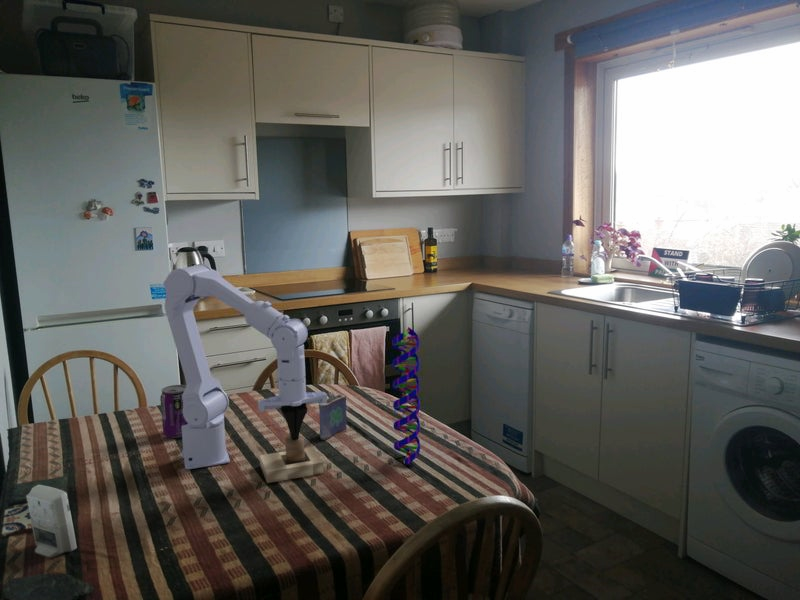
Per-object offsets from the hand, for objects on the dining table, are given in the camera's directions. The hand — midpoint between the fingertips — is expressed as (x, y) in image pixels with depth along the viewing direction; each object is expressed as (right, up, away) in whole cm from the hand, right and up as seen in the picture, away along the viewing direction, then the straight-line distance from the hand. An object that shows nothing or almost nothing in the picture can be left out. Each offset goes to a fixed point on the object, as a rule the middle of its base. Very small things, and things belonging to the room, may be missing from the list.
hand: (294, 437), depth 138 cm
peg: (0, -7, +1) cm, 7 cm away
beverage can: (-33, -4, +22) cm, 40 cm away
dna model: (+24, -6, +5) cm, 26 cm away
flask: (+6, -4, +21) cm, 22 cm away
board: (-1, -7, +1) cm, 7 cm away
